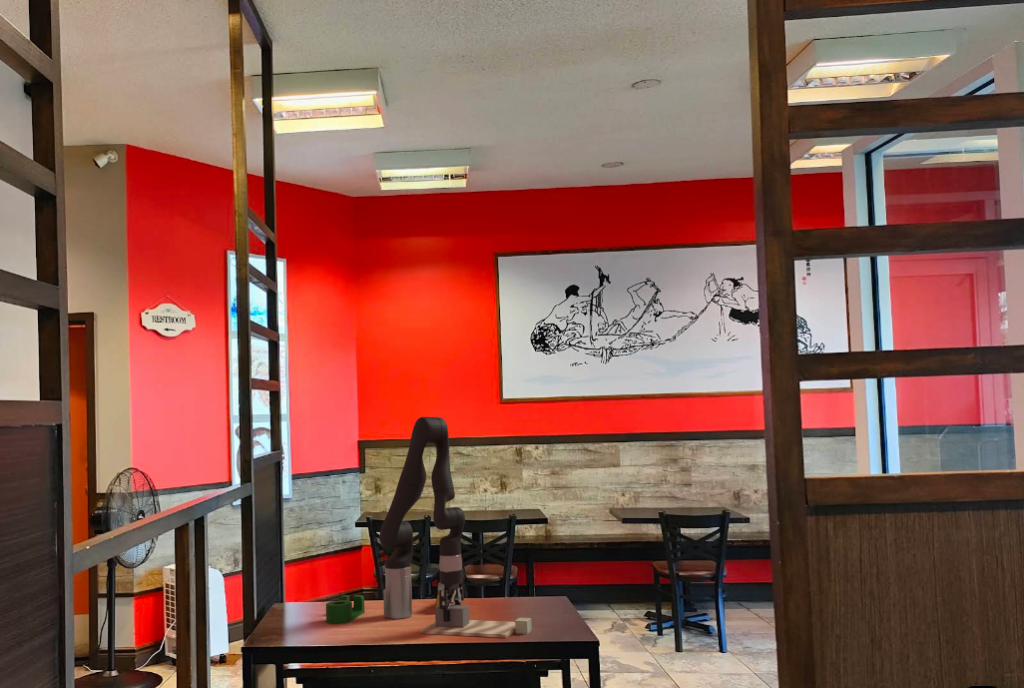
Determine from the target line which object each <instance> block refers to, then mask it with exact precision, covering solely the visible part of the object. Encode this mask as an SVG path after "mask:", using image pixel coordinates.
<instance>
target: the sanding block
mask: <svg viewBox="0 0 1024 688" xmlns="http://www.w3.org/2000/svg"><path fill="white" fill-rule="evenodd" d="M434 614H435V615H434V616H435V617H434V619H435V621H434V622H435V623H436V626H437V627H457V628H464V627H465V626H467V625H469V620H470V605H466V604H463V605H462V604H461V605H454V604H451V606H450V621H449V622H444V621H443V610H442V609H439V606H438V607H436V608H435V607H434Z"/></svg>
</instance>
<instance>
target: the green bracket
mask: <svg viewBox="0 0 1024 688" xmlns="http://www.w3.org/2000/svg"><path fill="white" fill-rule="evenodd" d="M352 599H353V600H352V601H351V600H350V594H349V595H348V594H347V595H346V594H344V595H342V596H340V597H338V599H337V600H333V601H328V602H326V603H325V619H326V620H325V623H326V624H328V625H341V624H342V625H343V624H347V623H351V622H352V621H354V620H355V619H357V618H358V617H360V616H361V615H363V614H364V613H365V596H364V595H362V594H355V595H354V596H353V597H352Z"/></svg>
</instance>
